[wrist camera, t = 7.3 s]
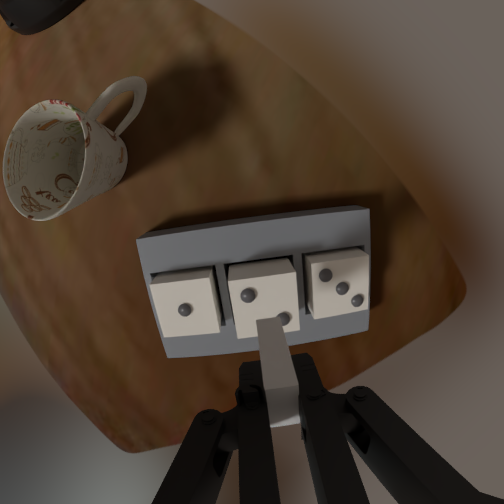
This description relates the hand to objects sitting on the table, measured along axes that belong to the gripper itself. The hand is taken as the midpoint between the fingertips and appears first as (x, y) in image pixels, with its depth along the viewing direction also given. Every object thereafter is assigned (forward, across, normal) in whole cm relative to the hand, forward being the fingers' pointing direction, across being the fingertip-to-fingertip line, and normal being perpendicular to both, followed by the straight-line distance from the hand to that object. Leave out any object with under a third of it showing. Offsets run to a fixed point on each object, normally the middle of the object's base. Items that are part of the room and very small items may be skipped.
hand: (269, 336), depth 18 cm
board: (+10, 0, 0) cm, 10 cm away
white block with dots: (+9, +7, 0) cm, 11 cm away
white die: (+8, 0, 0) cm, 8 cm away
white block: (+9, -6, 0) cm, 11 cm away
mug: (+10, -12, +15) cm, 22 cm away
